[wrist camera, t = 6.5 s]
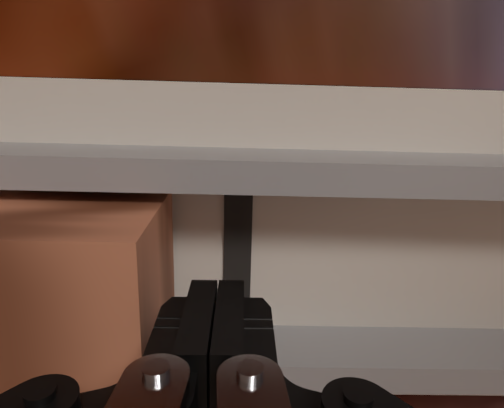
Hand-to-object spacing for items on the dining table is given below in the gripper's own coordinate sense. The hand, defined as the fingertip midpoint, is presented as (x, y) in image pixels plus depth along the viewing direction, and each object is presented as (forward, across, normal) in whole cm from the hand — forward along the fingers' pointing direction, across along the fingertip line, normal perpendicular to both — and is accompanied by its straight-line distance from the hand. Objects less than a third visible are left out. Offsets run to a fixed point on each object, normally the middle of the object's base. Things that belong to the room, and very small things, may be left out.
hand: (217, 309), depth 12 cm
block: (+4, +5, 0) cm, 6 cm away
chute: (+5, 0, 0) cm, 5 cm away
